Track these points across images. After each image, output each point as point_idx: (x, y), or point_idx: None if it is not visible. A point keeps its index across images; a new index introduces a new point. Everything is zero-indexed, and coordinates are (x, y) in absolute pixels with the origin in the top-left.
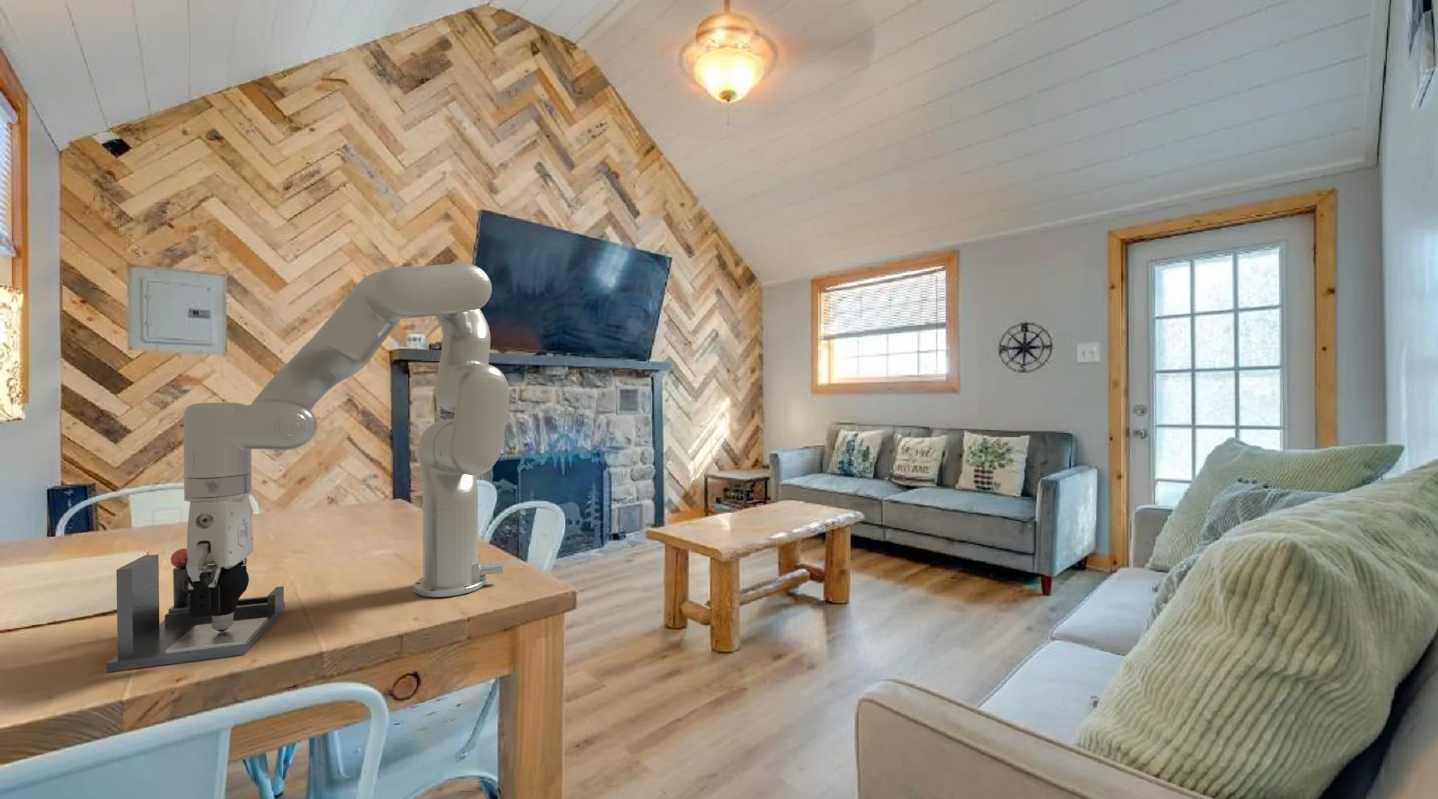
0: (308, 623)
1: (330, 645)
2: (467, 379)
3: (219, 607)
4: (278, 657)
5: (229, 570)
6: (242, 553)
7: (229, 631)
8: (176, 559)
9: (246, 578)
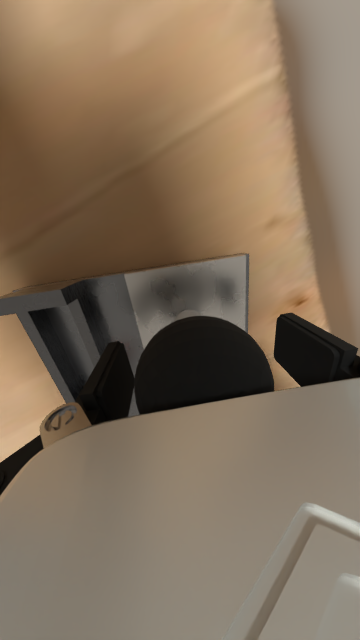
0: (104, 195)
1: (252, 63)
2: None
3: (295, 317)
4: (276, 179)
5: (257, 392)
6: (289, 438)
7: (190, 308)
8: None
9: (205, 327)
